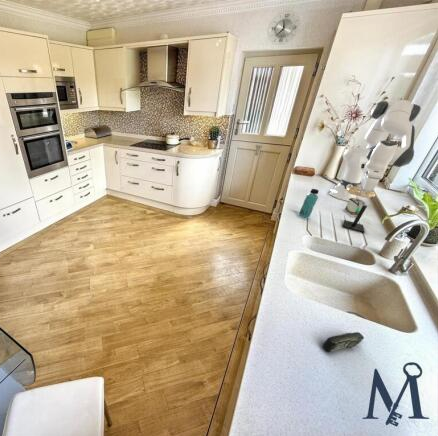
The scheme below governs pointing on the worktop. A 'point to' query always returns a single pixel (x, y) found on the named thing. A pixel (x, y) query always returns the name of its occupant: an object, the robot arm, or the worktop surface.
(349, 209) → the food container
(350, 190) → the ring
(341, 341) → the dark elongated rock
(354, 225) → the post
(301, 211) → the beverage bottle
